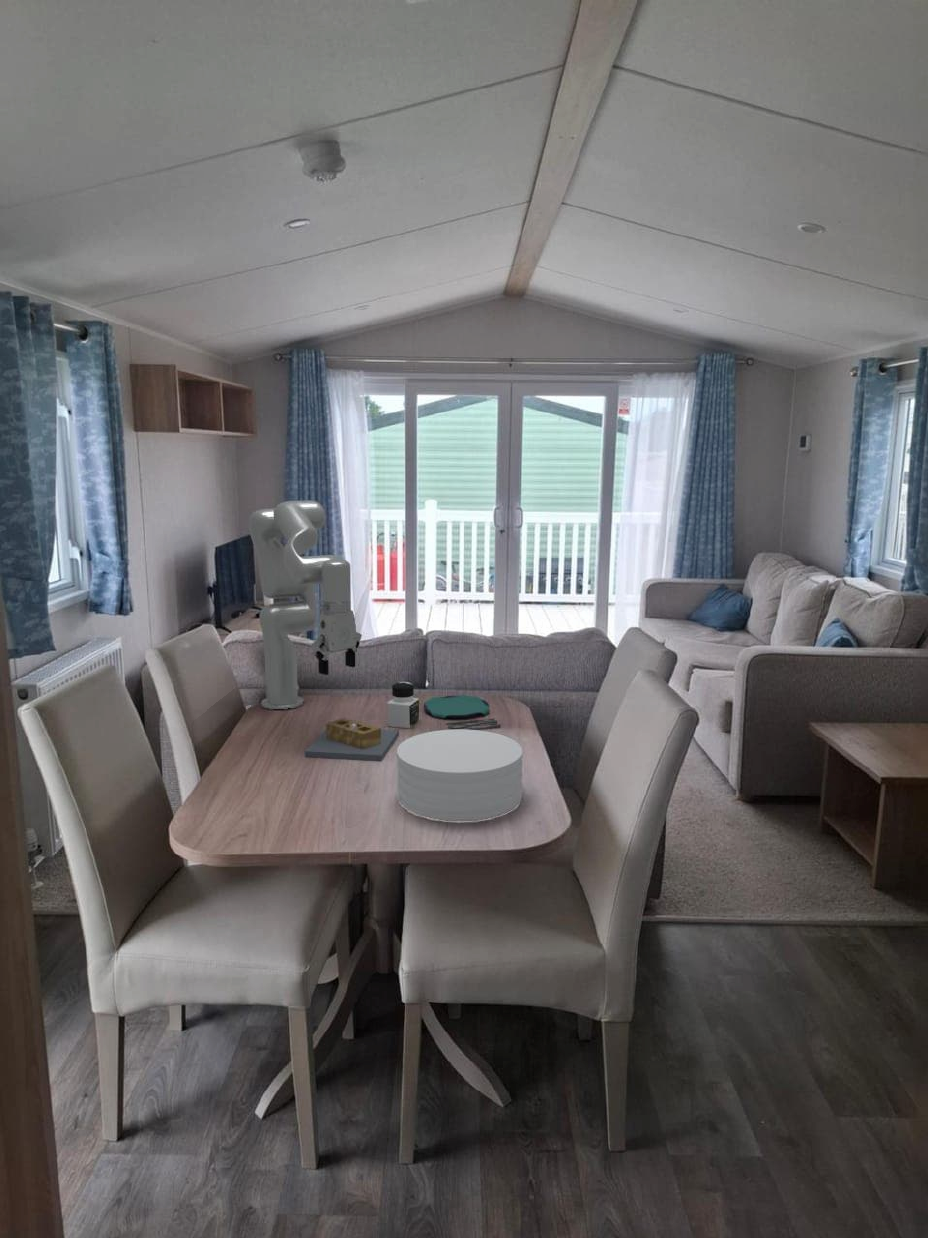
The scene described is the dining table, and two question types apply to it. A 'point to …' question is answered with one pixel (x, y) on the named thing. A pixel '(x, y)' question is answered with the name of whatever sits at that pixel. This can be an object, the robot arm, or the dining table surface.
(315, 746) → the slate board
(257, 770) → the dining table surface
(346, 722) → the tan slatted rectangular block
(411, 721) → the medicine bottle
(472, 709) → the cutlery set
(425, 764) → the plate stack
